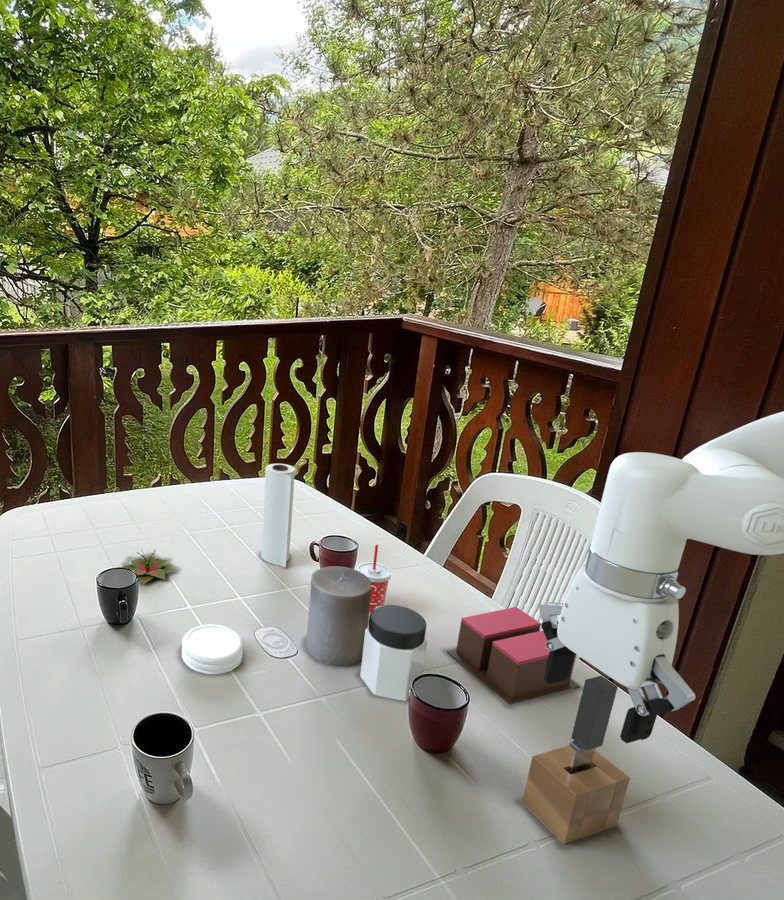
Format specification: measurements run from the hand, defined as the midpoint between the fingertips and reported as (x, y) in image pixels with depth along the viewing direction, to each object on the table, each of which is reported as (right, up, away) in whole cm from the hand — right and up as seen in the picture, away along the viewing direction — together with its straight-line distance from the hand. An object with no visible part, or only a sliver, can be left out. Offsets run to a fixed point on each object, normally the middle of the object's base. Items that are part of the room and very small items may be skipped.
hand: (592, 707), depth 71 cm
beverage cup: (-11, -2, +47) cm, 49 cm away
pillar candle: (-20, -5, +36) cm, 42 cm away
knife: (0, -14, +5) cm, 15 cm away
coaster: (-41, -6, +34) cm, 54 cm away
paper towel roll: (-26, +5, +66) cm, 72 cm away
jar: (-14, -8, +28) cm, 32 cm away
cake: (+7, -7, +31) cm, 32 cm away
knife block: (0, -15, +5) cm, 16 cm away
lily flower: (-53, +3, +61) cm, 81 cm away
